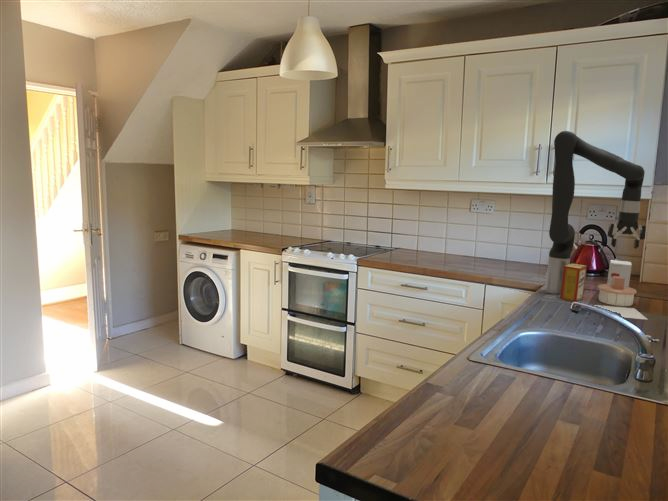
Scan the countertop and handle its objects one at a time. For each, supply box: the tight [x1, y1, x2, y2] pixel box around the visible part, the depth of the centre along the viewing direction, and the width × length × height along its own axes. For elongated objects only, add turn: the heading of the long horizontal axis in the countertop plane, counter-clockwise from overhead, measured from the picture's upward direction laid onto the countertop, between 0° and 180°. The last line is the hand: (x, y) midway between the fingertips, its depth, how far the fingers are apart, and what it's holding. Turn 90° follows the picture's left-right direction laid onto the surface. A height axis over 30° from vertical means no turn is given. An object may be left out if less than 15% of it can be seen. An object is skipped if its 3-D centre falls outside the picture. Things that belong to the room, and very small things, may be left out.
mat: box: [593, 304, 649, 321], centre depth 208 cm, size 16×16×1 cm
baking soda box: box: [560, 263, 588, 302], centre depth 226 cm, size 10×6×16 cm
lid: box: [597, 276, 637, 295], centre depth 222 cm, size 15×15×6 cm
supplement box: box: [606, 259, 633, 287], centre depth 242 cm, size 9×9×15 cm
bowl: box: [598, 289, 635, 307], centre depth 223 cm, size 13×13×6 cm
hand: (624, 247), depth 221 cm, fingers open, 8 cm apart
